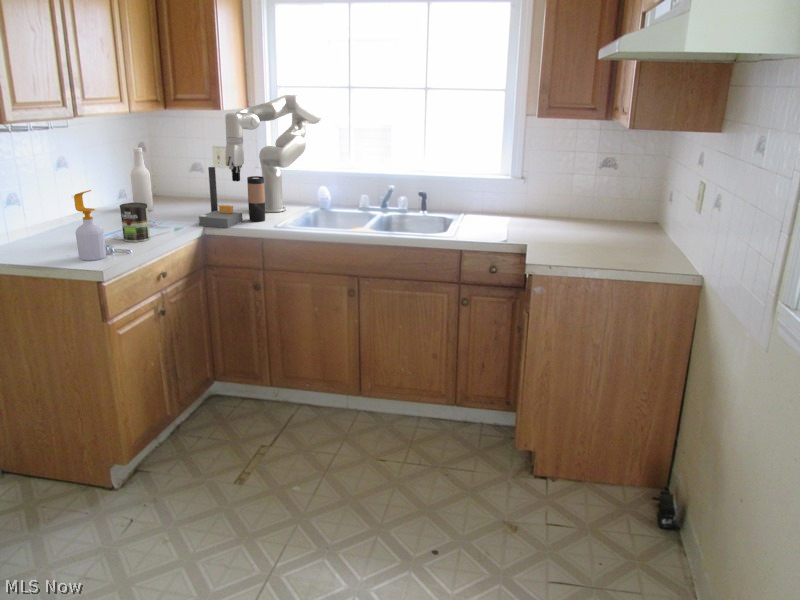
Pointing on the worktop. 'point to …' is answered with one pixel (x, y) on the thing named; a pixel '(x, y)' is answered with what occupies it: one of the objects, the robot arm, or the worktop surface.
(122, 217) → the coffee can
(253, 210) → the travel mug
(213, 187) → the post
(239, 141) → the robot arm
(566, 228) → the worktop surface
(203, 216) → the grey square slab
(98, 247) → the soap bottle
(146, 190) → the alcohol
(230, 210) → the handle
